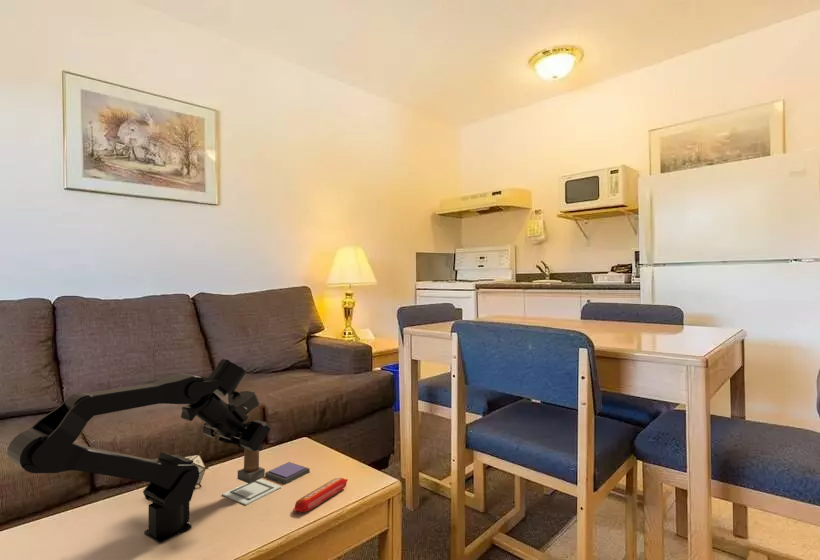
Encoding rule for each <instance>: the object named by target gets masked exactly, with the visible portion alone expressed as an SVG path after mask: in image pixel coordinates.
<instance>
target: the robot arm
mask: <svg viewBox="0 0 820 560" xmlns="http://www.w3.org/2000/svg"><path fill="white" fill-rule="evenodd" d="M246 376H247V371H246V370H245V369H244V368H243V367H240V366H239V365H237V364H235V363H233V362H231V361H230V360H229V359H227V358H222V359H221V360H220V361H219V362H218V364H217V366H216V367H215V368H214V369H213V371H212V372H211V373H210V374H209V376H208V377H205V376H199V375H193V374H189V373H183V372H178V373H175V374H171V375H167V376H166V377H163V378H160V379H158V380H157V381H154V382H151V383H146V384H139V385H133V386H125V387H118V388H117V387H116V388H112V389H111V388H110V389H106V390H105V389H104V390H98V391H91V392H76V393H72V394H71V395H70V396H69V397H68V398H66V400H64V401H63V402H62V403H60V405H59V406H57V407H56V408H54V409H53V410H52V411H50V412H49V413H48V414H45V415H44V416H43V417H41V418H40V419H39V420H38V421H36V422H35V423H34V424H33V425H32V426H31V427H30V428H28V429H27V430H24V431H22V432H20V433H19V434H17V435H16V436H15V437H14V438H13V439H12V440H11V441H10V442H9V444H8V447H7V457H8V459H9V460H10V462H12V463H13V464H15V465H16V466H17V467H20V468H21V469H23V470H24V471H25V472H27V473H30V474H61V473H66V472H71V471H73V472H74V471H75V472H76V471H77V472H83V473H90V474H96V475H101V476H102V475H104V476H110V477H114V478H122V479H129V480H134V481H135V480H136V481H140V482H147V483H148V485H147V486H145V488H144V489H143V491H142V493H143V495H144V497H145V500H146V501H149V502H151V503H150V504H148V516H147V517H148V529H145V530H144V532H143V533H144V535H145V536H148V537H149V538H150V539H151V540H153V541H155V542H157V543H158V544H163V543H164V542H166V541H168V540H171V539H173V538H174V537H177V536H179V535H180V534H183V533H185V532H187V531H189V530H190V529H192V527H193V525H192V524H191V523H189V522H190V502H191V501H192V498H193V494H194V491H195V489H196V486H195V485H196V483H197V481H198V478H199V470H198V469H199V468H198V467H197V466H195V465H193V464H192V463H193V462H194V461H193V460H190V459H187V458H185V457H186V456H182V455H180V454H176V453H175V454H170V453H167V452H164V451H160V453H159V456H158V457H157V458H145V457H140V456H135V455H130V454H125V453H120V452H115V451H109V450H105V449H100V448H95V447H91V446H86V445H80V444H77V443H76V440H78V438H79V436H80V435H81V433H82V431H83V430H84V429H85V427H86V425H87V424H88V422H90V420H91V419H92V418H93V417H95V416H100V415H105V414H110V413H115V412H121V411H126V410H132V409H137V408H141V407H142V408H143V407H147V406H153V405H159V404H161V405H162V404H163V405H164V404H165V405H167V404H169V405H185V406H182V407H181V415H180V418H181V419H182V420H184V421H185V420H186V421H190V422H192V421H194V419H195V418H196V417H197V418H198V419H199V420H200V421H202V422H203V427H202V433H203V434H204V435H205V436H206V437H208V438H211V439H215V438H216V436H217V437H218V441H220V442H222V443H226V444H230V445H237V448H241V449H243V450H244V449H248V450H251V451H256V450H259V452H260V451H262V449H263V447H264V445H263V442H264V440H265V439H266V437H267V435H268V434H269V433H270V431H271V428H272V427H271V425H269V424H268V423H267V422H266V421H262V420H259V419H254V420H251V421H248V422H247V420H248V418H249V416H248V415H247V414H249V413H250V412H251V411H253V410H254V409H256V408H257V407H259V405H260V404H261V403H260V401H259V398H258V397H257V393H256V392H254V391H249V390H241V391H240V392H239V391H238V390H236V389H237V388H238V387H239V385H240V384H241V383H242V381H243V380H244V378H245V377H246ZM226 395H227V396H228V397H227V401H228V403H227V402H225V401H224V400H223V399H222V398H221V397H223V398H225V397H226ZM245 422H246V423H245ZM245 427H246V428H245Z"/></svg>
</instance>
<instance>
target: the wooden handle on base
mask: <svg viewBox="0 0 820 560" xmlns="http://www.w3.org/2000/svg"><path fill="white" fill-rule="evenodd" d="M245 428H246V427H245ZM243 450H244V451H243V455H244V456H243V458H244V459H243V468H241V469H238V470H237V478H236V479H237V480H239V481H242V482H244V483H252V482H254V481H256V480H259V479H264V478H266V477H265V473H266V471H265V469H266V468H264V467H261V466H260V450H256V451H251V450H248V449H244V448H243Z"/></svg>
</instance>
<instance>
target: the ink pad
mask: <svg viewBox="0 0 820 560" xmlns="http://www.w3.org/2000/svg"><path fill="white" fill-rule="evenodd" d="M310 469H311V468H309V467H305V466H303V465H300V464H296V463H295V462H290V461H288V462H286V463H284V464H281V465H279V466H276V467H274V468H272V469H270V470H268V471H265V477H264V478H268V479H270V480H274V481H277V482H280V483H282V484H285V485H287V484H289V483H291V482H292V481H295V480H297V479H299V478H301V477H303V476H305V475H307V474H309V473H310Z"/></svg>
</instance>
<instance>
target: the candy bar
mask: <svg viewBox="0 0 820 560" xmlns="http://www.w3.org/2000/svg"><path fill="white" fill-rule="evenodd" d="M348 481H349V479H348V478H344V477H337V478H336V477H335V478H332V479H331V480H330V481H328V482H326V483H324V484H323V485H321V486H319V487H318V488H315V489H314V490H313V491H311V492H309V493H307V494H305V495H304V496H303V497H301V498H299V499H298V500H296V502H295V504H294V508H293V509H292V511H295V512H297V513H303V512H304V513H305V512H309V511H310V510H312V509H314V508H315V507H317V506H319V505H320V504H322V503H323V502H326V500H329V499H330V498H331V497H333V496H334V495H336V494H338V493H339V492H340V491H342V490H344V489H345V488H346V486H347V483H348Z"/></svg>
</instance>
